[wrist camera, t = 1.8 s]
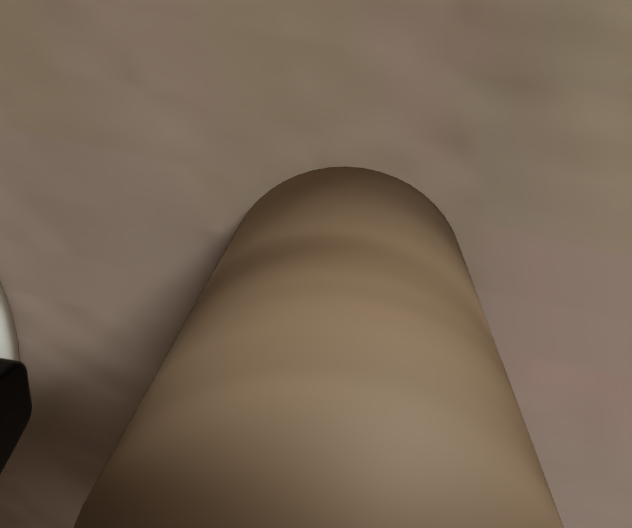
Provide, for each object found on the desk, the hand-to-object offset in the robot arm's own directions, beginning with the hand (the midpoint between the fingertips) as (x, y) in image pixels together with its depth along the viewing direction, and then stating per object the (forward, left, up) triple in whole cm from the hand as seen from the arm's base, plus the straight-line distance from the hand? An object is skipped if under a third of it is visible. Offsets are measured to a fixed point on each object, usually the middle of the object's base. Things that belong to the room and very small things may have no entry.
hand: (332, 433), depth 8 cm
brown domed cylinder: (0, 0, -5) cm, 4 cm away
